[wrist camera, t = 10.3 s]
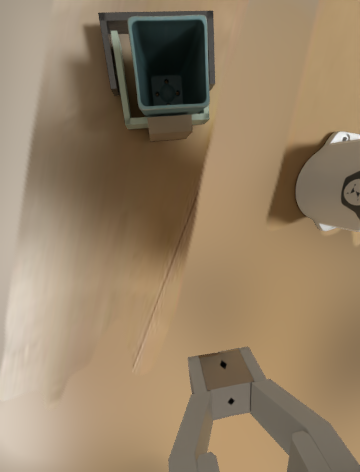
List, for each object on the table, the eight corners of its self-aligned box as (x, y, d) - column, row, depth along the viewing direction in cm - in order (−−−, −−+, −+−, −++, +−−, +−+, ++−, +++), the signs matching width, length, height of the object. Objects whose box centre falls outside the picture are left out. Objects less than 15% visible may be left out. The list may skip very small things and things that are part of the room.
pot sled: (200, 42, 29) (212, 10, 23) (205, 137, 33) (215, 129, 27) (115, 45, 28) (105, 12, 22) (130, 142, 32) (124, 135, 26)
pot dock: (208, 24, 29) (213, 10, 26) (210, 90, 31) (215, 83, 29) (103, 26, 27) (98, 12, 25) (114, 95, 30) (110, 88, 28)
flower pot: (143, 127, 32) (138, 110, 23) (134, 61, 29) (126, 14, 20) (195, 124, 33) (210, 106, 24) (192, 59, 30) (207, 13, 21)
